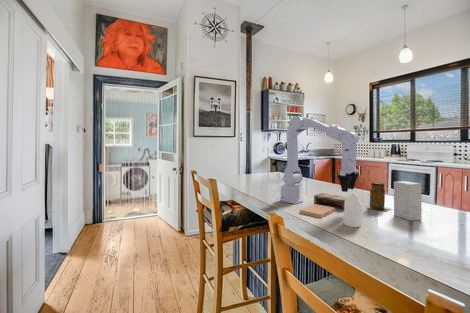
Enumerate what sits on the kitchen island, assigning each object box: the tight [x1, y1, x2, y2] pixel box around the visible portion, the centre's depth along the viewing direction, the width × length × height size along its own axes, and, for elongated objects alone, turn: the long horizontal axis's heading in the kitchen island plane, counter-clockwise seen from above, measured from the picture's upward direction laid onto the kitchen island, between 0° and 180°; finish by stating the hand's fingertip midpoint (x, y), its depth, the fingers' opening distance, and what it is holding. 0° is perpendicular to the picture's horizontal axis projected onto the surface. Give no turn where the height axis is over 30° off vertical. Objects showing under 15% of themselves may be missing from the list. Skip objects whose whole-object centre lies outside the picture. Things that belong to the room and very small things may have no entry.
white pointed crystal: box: [343, 193, 363, 228], centre depth 93 cm, size 6×12×6 cm
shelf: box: [313, 192, 349, 211], centre depth 121 cm, size 15×8×4 cm, turn 46°
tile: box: [299, 203, 336, 219], centre depth 110 cm, size 10×14×2 cm
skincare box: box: [393, 180, 423, 221], centre depth 101 cm, size 8×6×15 cm
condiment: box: [365, 181, 392, 212], centre depth 115 cm, size 7×8×12 cm
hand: (347, 190), depth 108 cm, fingers open, 7 cm apart
